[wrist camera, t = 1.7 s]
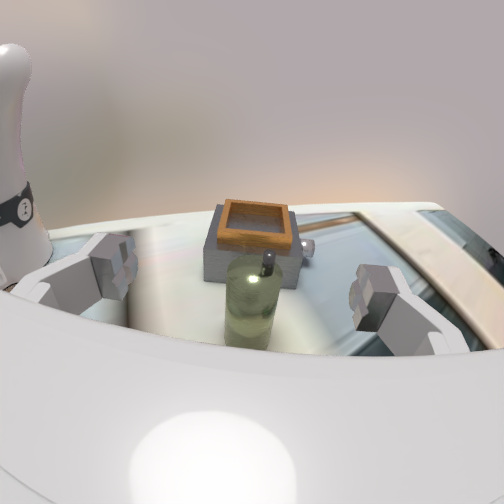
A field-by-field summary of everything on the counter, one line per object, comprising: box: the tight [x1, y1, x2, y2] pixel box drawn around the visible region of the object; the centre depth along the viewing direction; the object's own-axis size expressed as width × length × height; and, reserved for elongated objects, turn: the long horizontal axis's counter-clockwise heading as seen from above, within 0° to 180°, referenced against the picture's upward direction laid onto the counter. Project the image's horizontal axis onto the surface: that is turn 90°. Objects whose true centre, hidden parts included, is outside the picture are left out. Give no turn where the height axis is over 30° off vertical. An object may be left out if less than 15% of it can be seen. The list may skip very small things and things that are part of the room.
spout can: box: [224, 250, 283, 350], centre depth 31 cm, size 6×6×13 cm
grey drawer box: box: [203, 199, 315, 289], centre depth 47 cm, size 17×14×8 cm
